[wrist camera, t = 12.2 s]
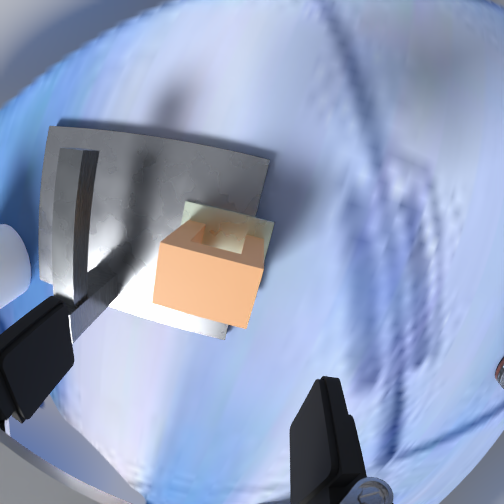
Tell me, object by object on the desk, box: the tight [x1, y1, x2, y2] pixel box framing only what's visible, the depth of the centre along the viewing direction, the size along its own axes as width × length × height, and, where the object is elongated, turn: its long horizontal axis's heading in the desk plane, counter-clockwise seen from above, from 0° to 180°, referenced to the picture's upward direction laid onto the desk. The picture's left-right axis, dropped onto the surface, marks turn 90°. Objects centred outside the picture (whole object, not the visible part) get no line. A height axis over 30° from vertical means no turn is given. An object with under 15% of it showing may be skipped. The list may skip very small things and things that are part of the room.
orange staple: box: [152, 220, 264, 329], centre depth 20 cm, size 4×6×7 cm, turn 76°
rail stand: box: [39, 126, 275, 343], centre depth 19 cm, size 16×22×9 cm
